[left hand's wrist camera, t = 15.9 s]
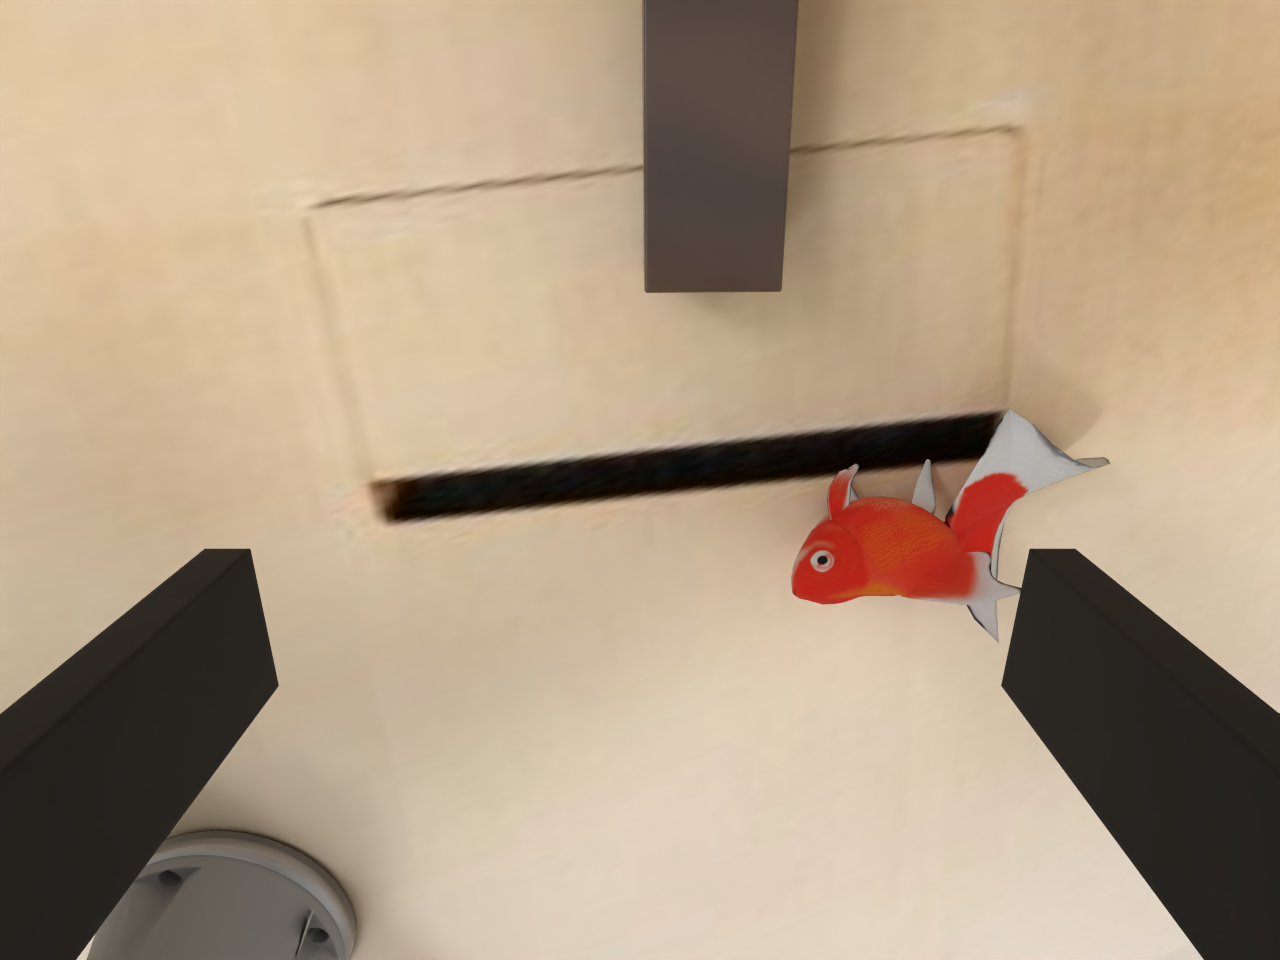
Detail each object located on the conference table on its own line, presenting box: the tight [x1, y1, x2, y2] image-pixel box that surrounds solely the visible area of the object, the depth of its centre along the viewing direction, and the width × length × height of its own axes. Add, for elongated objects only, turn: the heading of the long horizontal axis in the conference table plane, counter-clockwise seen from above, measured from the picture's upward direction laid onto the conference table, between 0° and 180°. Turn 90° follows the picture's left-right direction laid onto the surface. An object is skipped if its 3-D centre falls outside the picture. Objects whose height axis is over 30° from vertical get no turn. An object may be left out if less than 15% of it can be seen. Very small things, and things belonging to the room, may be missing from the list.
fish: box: [791, 409, 1110, 643], centre depth 35 cm, size 11×16×10 cm
